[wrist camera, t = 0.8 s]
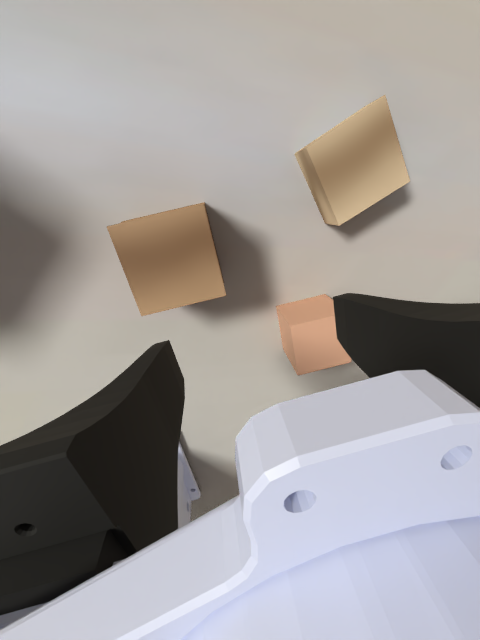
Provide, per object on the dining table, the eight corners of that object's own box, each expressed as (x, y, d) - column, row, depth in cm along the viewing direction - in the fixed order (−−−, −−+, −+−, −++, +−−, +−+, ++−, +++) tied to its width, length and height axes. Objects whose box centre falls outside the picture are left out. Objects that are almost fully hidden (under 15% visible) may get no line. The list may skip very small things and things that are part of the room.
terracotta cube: (328, 337, 24) (351, 362, 20) (283, 348, 24) (297, 375, 20) (324, 293, 22) (348, 311, 18) (275, 305, 22) (290, 326, 18)
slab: (385, 183, 20) (409, 181, 17) (323, 223, 20) (339, 225, 18) (361, 108, 18) (385, 94, 15) (293, 154, 18) (306, 147, 16)
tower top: (223, 283, 18) (226, 295, 16) (149, 302, 18) (141, 316, 16) (203, 203, 16) (204, 204, 14) (120, 223, 16) (106, 226, 14)
